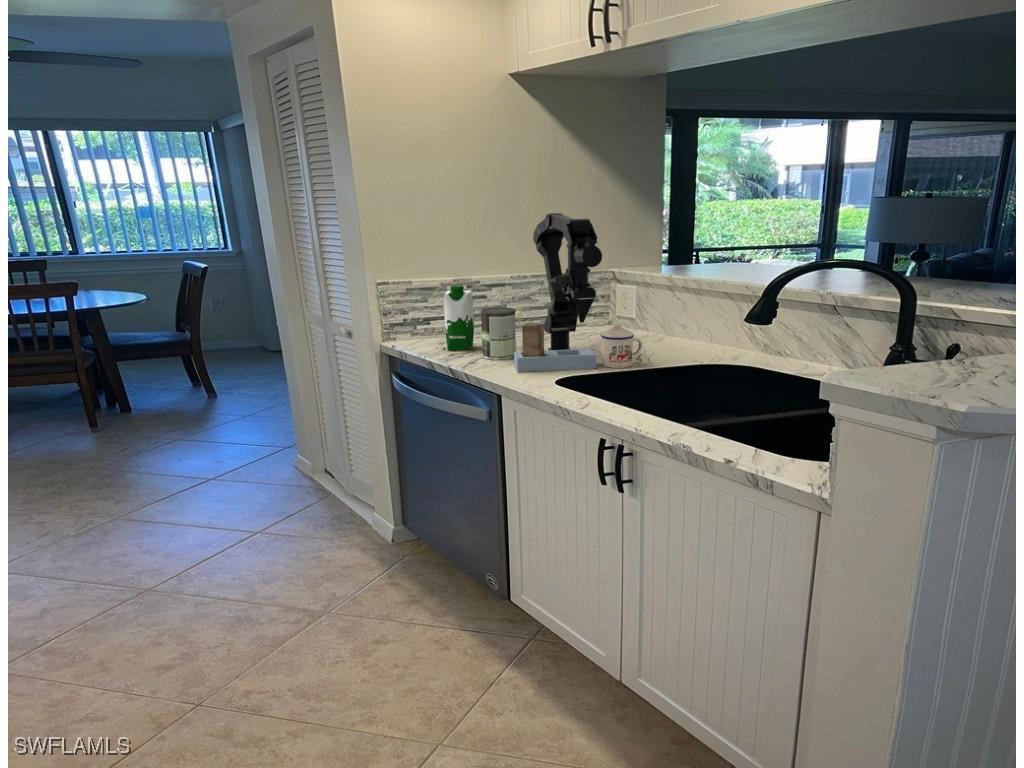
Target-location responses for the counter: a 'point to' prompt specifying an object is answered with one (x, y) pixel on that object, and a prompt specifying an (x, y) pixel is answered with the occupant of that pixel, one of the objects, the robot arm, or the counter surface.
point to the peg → (533, 339)
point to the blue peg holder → (557, 360)
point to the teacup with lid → (618, 347)
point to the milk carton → (459, 318)
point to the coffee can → (498, 333)
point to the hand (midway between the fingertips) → (578, 320)
